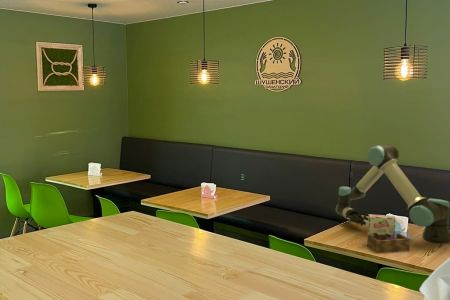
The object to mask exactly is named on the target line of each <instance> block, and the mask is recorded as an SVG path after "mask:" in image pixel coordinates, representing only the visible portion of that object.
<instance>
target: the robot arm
mask: <svg viewBox="0 0 450 300" xmlns="http://www.w3.org/2000/svg"><path fill="white" fill-rule="evenodd" d="M366 158H367V161H368V163H369V164H370V166H372V167H371V168H370V169H369V170H368V171H367V172H366V173H365V175H364V176H363V177H362V178H361V179H360V180H359V181H358V183H357V184H356V185H355V186H354V187H352V188H351V187H349V186H340V187H338V193H337V194H338V204H336V207H335V212H336V214H338V215H339V216H341V217H342V218H344V219H346V220H347V221H348V222H349V221H350V222H352V223H356V224H358V225H359V224H360V226H366V227H367V228H368V217H367V215H365V214H364V215H362V214H360V213H359V211H357V210H356V209H355V208H351V201H354V200H360V199H362V198H365V196H366V193H367V191H368V190H369V189H370V188H371V187H372V186H373V185H374V184H375V183H376V182H377V181H378V180H379V178H380V177H381V176H382V175H385V176H386V177H387V179H388V180H389V181H390V182H391V184H392V186H394V188H395V190H396V191H397V193H399V195H400V196H401V198H402V199H403V200H404V201H405V203H406V204H407V211H409V215H408V216H409V219H410V221H411V223H413V224H414V225H416V226H418V227H420V228H421V227H423V228H424V230H423V232H422V235H421V237H422V239H423V240H425V241H428V242H433V243H440V244H445V243H450V228H449V223H450V222H449V221H450V202H449V201H448V200H444V199H439V198H428V199H427V197H426V196H424V197H423V196H422V195H420V193H419V192H418V190H417V189H416V188H415V186H414V185H413V184H412V182H411V181H410V179H408V177H407V176H406V174H405V173H404V172H403V170H402V169H401V168H400V167H399V165H398V164H397V162H398V160H399V158H400V152H399V149H398V148H397V147H396V146H395V145H393V144H383V145H379V144H378V145H375V146H372V147H370V148H369V149H368V152H367V156H366Z"/></svg>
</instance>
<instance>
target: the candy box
mask: <svg viewBox="0 0 450 300" xmlns="http://www.w3.org/2000/svg"><path fill="white" fill-rule="evenodd" d="M367 218H368V227H367V238H368V235H370V236H372V237H374V238H375V239H377V240H390V239H395V235H396V234H395V231H396V217H395V215H382V214H369V213H368V217H367Z"/></svg>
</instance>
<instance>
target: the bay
mask: <svg viewBox="0 0 450 300" xmlns="http://www.w3.org/2000/svg"><path fill="white" fill-rule="evenodd" d="M395 235H396V236H395V238H394V239H390V240H377V239H375V238H374V237H372V236H370V235H368V234H367V237H368V238H367V239H366V242H367V243H366V247H368V248H369V249H371V250H372V249H373V250H372V251H374V252H375V253H386V252H385V251H389V252H398V251H409V250H410V245H411V244H410V240H411V239H410V238H409V237H407V236H405V235H402V234H401V233H399V232H398V233H396V234H395Z"/></svg>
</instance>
